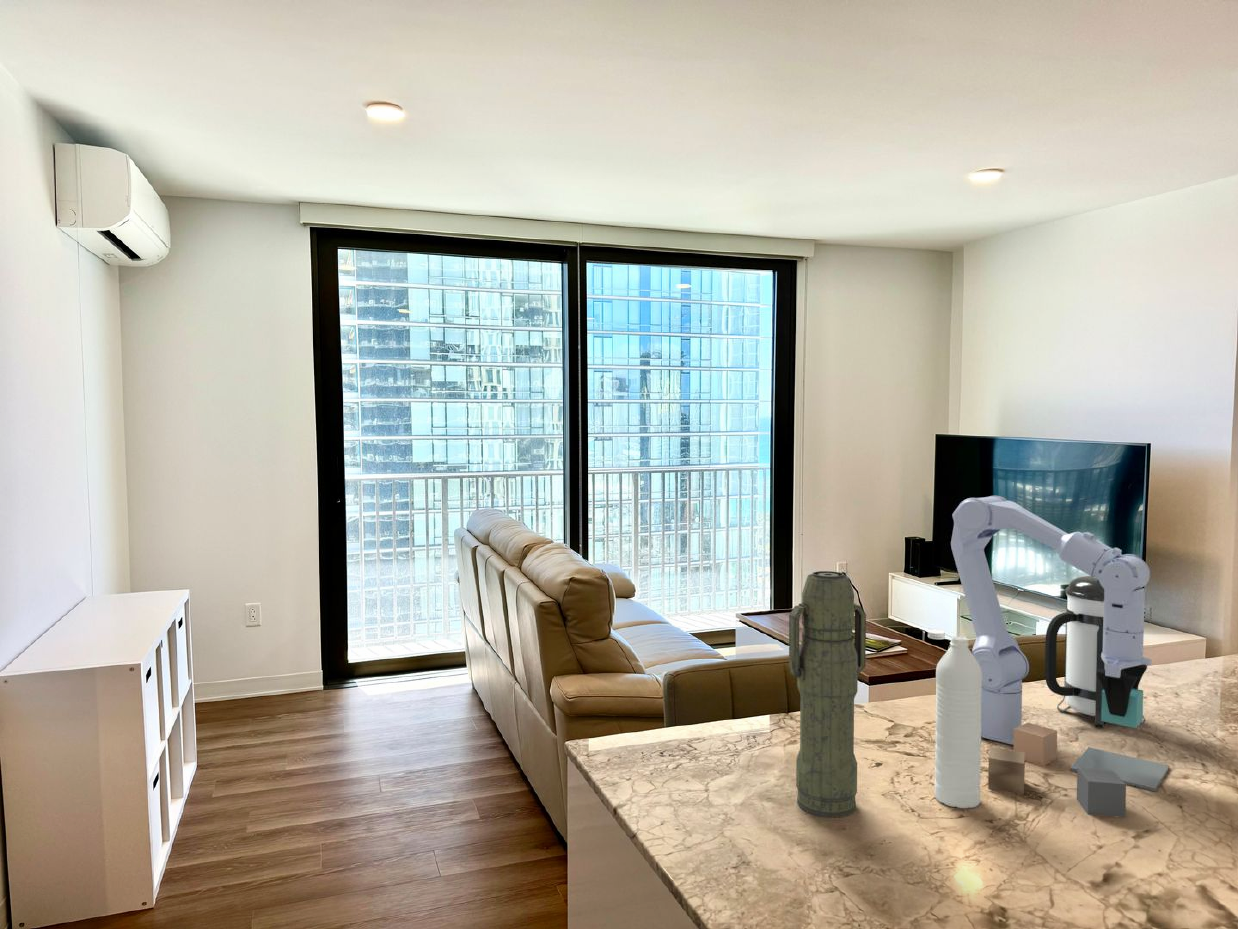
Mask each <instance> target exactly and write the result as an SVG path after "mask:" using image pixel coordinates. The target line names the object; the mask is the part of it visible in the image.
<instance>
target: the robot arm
mask: <svg viewBox="0 0 1238 929" xmlns="http://www.w3.org/2000/svg"><path fill="white" fill-rule="evenodd" d="M951 516H952V520H953V529H952V535H951V541H950V546H951V551H952V555H953V558H954V561H955V566H956V568H957V569H956V570H957V573H958V575H959V579H960V582H961V587H962V591H963V593H964V594H963V595H964V597H965V601H966V604H967V608H968V611H969V615H970V618H971V622H972V625H973V629H974V633H975V636H976V638H975V641H974V643H973V647H972V650H971V651H972V652H971V653H972V655H973V656H974V658H975V659H976V661H977V662H978V664H979V665H980V668H981V671H982V687H981V688H982V692H981V694H982V697H981V700H982V702H981V735H980V736H981V739H982V738H983V739H986V740H991V741H994V742H999V743H1000V742H1001V743H1004V744H1007V745H1012V746H1014V729H1015V728H1017V727H1019V726H1021V725H1023V722H1022V714H1023V710H1022V709H1023V680H1024V679H1025V678H1026V677H1027V675H1028V674H1029V670H1030V664H1029V663H1030V662H1029V660H1028V658H1027V656H1026V655H1025V654H1024V653H1023V652H1022V650H1021V649H1020V647H1019V645H1018V640H1017V639H1016V638H1015V637H1014V636H1013V635H1012V634H1010V633H1009V631H1008V630H1007V626H1006V623H1005V622H1006V621H1005V620H1004V615H1003V612H1002V609H1001V604H1000V602H999V598H998V595H997V591H996V588H995V584H994V580H993V578H992V574H991V571H990V567H989V563H988V560H987V557H986V554H985V553H986V552H985V548H986V546H987V545H988V544H989V542H990V540H991V539H992V537H993V536H994V535H996V534H997V533H998V532H999V531H1000V532H1001V530H1015V531H1017V532H1019V533H1022V534H1024V535H1025V536H1028V537H1029V538H1032V539H1033V540H1036V541H1038V542H1040V543H1042V544H1044V545H1046V546H1047V547H1051V548H1053V549H1055V550H1056V552H1057V553H1058V557H1059V559H1060V560H1061V561H1062V562H1065V563H1066V564H1068V565H1070V566H1071V567H1073V568H1075V569H1077V570H1079V571H1081V572H1083V573H1085V574H1086V575H1087V576H1092V577H1093V578H1095V579H1098V580H1099V582H1100V584H1101V586H1102V587H1103V588H1104V616H1103V652H1102V653H1101V658H1102V660H1103V661H1104V663H1105V669H1098V670H1097V676H1098V678H1099V680H1100V682H1101V684H1102V686H1103V688H1104V691H1105V695H1106V699H1107V704H1108V709H1109V712H1110V714H1112V715H1117V716H1122V717H1124V716H1125V714H1126V712H1127V708H1128V703H1129V697H1130V694H1131V690H1132V688H1133V689H1138V690H1139V685H1140V682H1141V680H1142V678H1143V675H1144V674H1145V672H1146V671H1147V670H1148V666H1150V665H1152V658H1148V657H1145V656H1144V632H1145V588H1143V587H1145V586H1146V585H1147V584H1148V582H1150V578H1151V570H1150V567H1149V565H1148V564H1147V563H1146V562H1145V561H1144V560H1143V559H1142V558H1140V557H1139V556H1138V555H1137V554H1132V553H1126V554H1122V552H1123V551H1122V549H1120V548H1118V547H1110V546H1108V545H1107V544H1104V543H1103V542H1101V541H1098V540H1096V539H1094V537H1095V534H1093V533H1091V532H1089V531H1086V532H1085V531H1084V532H1080V531H1075V532H1071V533H1067V532H1065V531H1064V530H1062V529H1060V528H1059V527H1057V526H1055V525H1053V524H1051V523H1050V522H1048V521H1047V520H1045V519H1043V518H1042V517H1040V516H1038V515H1036V514H1034V513H1033V512H1031V511H1029V510H1027V509H1026V508H1024V507H1023V506H1021V505H1019V504H1018V503H1017V502H1015V501H1011V500H1007V499H1006V498H1005V497H1002V496H999V495H990V496H985V497H969V498H966V499H964V500H963V501H961V502H960V503H959V505H958V506H957V507H956V508H955V510H954V511H953V513H952V515H951ZM1137 589H1138V590H1137ZM1134 590H1136V591H1134Z"/></svg>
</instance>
